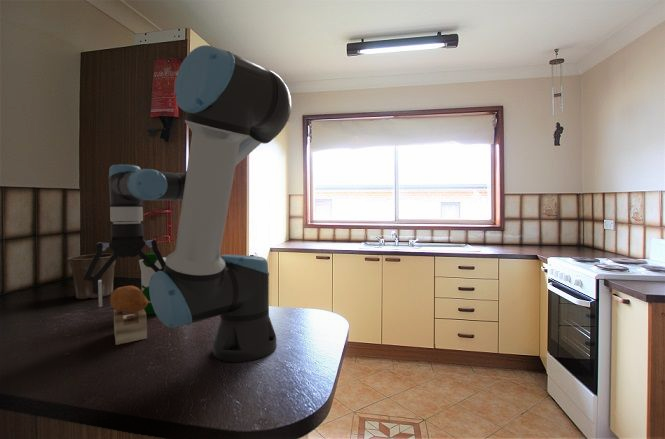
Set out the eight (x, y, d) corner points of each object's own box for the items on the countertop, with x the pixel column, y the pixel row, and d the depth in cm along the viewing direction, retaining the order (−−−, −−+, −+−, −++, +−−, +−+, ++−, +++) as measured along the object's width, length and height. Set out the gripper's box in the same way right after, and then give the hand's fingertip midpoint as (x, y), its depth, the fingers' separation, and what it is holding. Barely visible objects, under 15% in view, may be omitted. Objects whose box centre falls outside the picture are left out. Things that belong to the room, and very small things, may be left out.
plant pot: (58, 299, 128) (57, 258, 128) (98, 289, 144) (97, 252, 143) (89, 302, 124) (88, 259, 123) (127, 292, 139) (126, 253, 139)
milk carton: (137, 315, 108) (135, 254, 108) (154, 306, 117) (153, 250, 117) (162, 315, 107) (160, 254, 107) (178, 307, 116) (176, 250, 116)
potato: (135, 305, 97) (134, 281, 97) (153, 313, 89) (152, 287, 89) (106, 310, 92) (105, 285, 91) (122, 320, 83) (122, 292, 83)
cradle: (147, 338, 88) (146, 314, 88) (115, 344, 84) (115, 319, 84) (143, 327, 97) (142, 305, 96) (114, 332, 93) (113, 310, 92)
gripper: (173, 221, 100) (175, 291, 100) (70, 223, 86) (73, 306, 86) (178, 221, 94) (180, 297, 94) (68, 224, 79) (71, 313, 80)
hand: (129, 301), depth 90 cm, fingers open, 12 cm apart
